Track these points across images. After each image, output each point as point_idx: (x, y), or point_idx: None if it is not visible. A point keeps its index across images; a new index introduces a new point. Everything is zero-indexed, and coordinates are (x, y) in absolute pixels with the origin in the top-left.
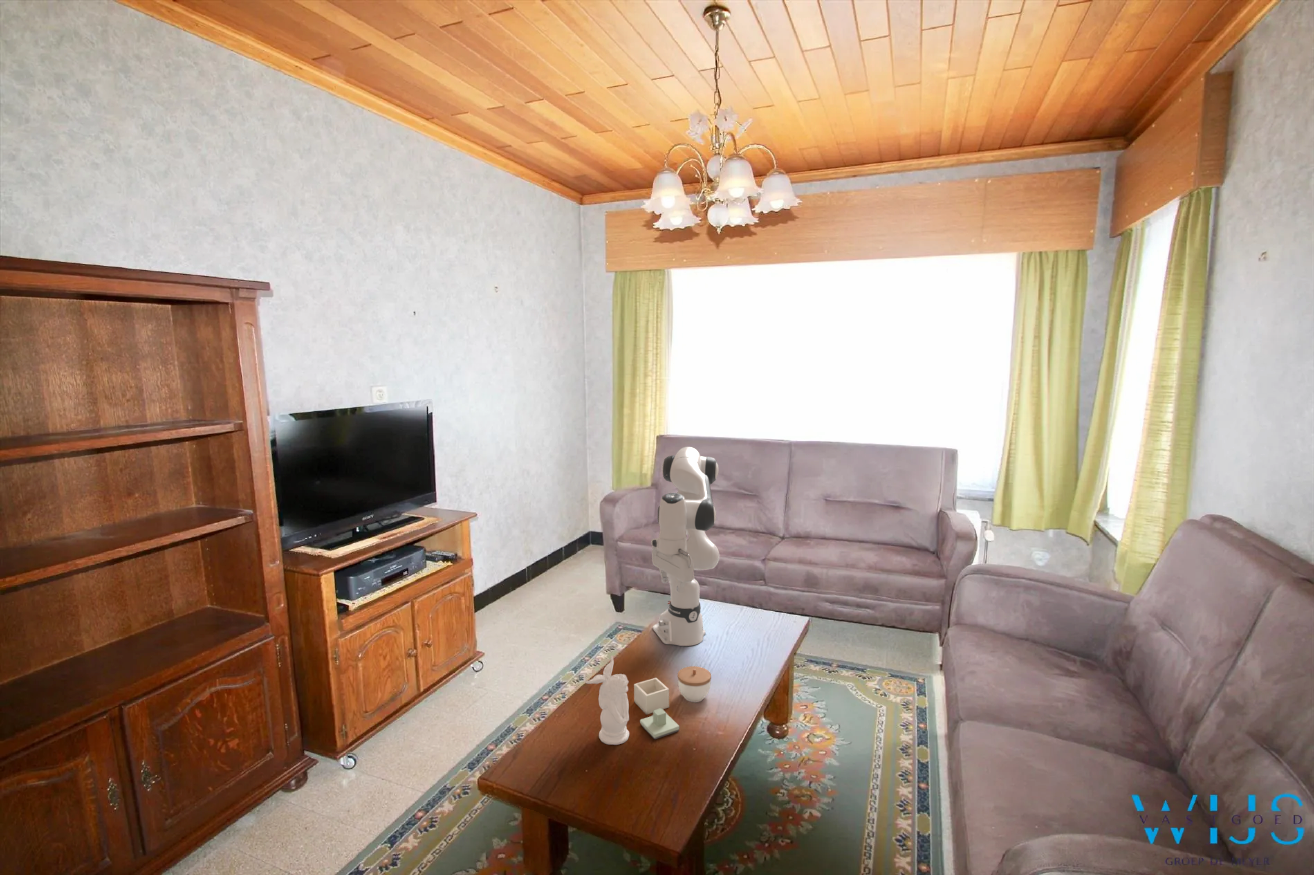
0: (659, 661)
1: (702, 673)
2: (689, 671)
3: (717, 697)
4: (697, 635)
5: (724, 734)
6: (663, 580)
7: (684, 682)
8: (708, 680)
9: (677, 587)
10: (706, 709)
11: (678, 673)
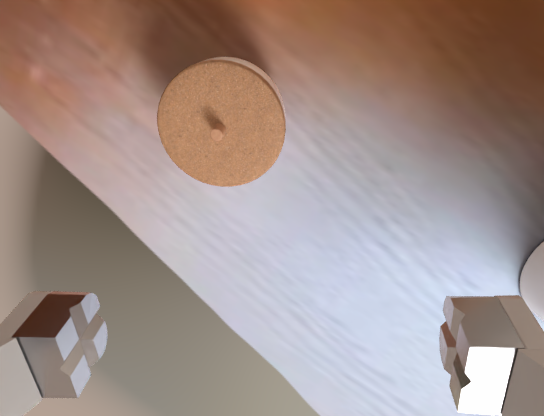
0: (510, 116)
1: (210, 156)
2: (244, 122)
3: None
4: (538, 305)
5: (25, 79)
6: (465, 319)
7: (189, 66)
8: (167, 152)
9: (36, 328)
10: (157, 101)
11: (251, 76)
